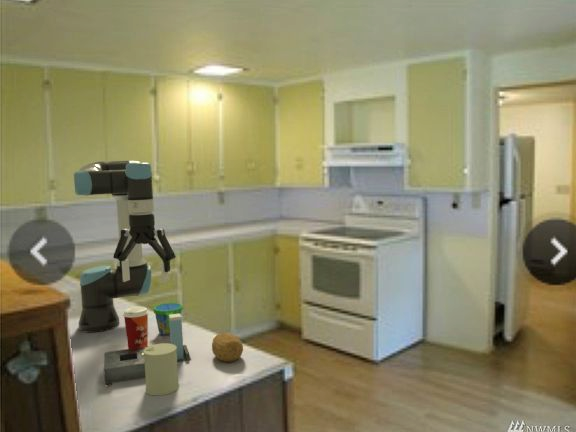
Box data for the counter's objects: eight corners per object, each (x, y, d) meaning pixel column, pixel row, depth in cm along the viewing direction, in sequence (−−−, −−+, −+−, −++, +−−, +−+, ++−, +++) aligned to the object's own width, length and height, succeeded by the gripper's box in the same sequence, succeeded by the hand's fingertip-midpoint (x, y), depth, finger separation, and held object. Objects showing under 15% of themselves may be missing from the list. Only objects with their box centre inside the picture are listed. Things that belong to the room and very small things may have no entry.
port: (105, 367, 160) (104, 351, 160) (151, 360, 165) (150, 345, 164) (105, 385, 147) (103, 368, 146) (154, 377, 151) (153, 360, 151)
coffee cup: (143, 357, 167) (141, 313, 166) (120, 356, 169) (117, 312, 167) (155, 348, 175) (152, 306, 174) (133, 347, 177) (130, 305, 175)
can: (148, 382, 149) (146, 342, 147) (180, 380, 150) (178, 340, 148) (142, 396, 140) (140, 354, 138) (176, 394, 140) (174, 352, 139)
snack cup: (183, 338, 185) (182, 311, 183) (153, 341, 183) (152, 313, 181) (183, 325, 200) (182, 299, 199) (156, 327, 198) (154, 302, 197)
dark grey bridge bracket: (163, 356, 168) (163, 348, 167) (188, 353, 170) (187, 344, 170) (166, 365, 160) (165, 356, 160) (191, 361, 163) (191, 352, 162)
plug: (171, 356, 166) (168, 314, 165) (182, 354, 167) (179, 313, 166) (172, 360, 163) (169, 317, 161) (183, 358, 164) (181, 316, 162)
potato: (233, 349, 172) (232, 326, 171) (250, 363, 160) (249, 339, 159) (205, 355, 168) (204, 332, 167) (221, 370, 155) (220, 345, 155)
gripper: (98, 214, 155) (103, 283, 158) (172, 214, 149) (176, 285, 151) (113, 212, 163) (117, 277, 165) (184, 212, 156) (187, 280, 158)
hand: (145, 281), depth 158 cm, fingers open, 13 cm apart
